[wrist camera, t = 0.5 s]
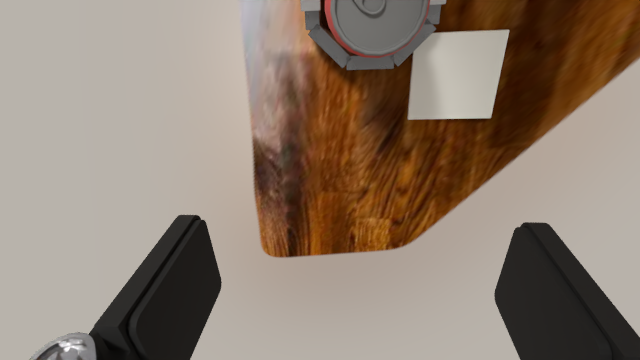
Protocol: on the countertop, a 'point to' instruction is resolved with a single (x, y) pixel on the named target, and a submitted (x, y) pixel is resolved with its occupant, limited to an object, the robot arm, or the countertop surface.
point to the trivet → (456, 74)
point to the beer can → (375, 24)
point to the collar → (356, 62)
